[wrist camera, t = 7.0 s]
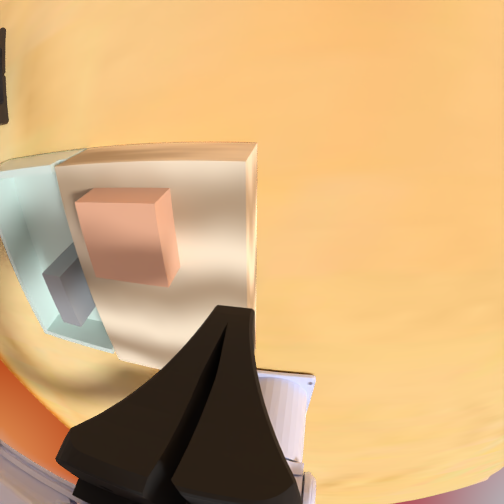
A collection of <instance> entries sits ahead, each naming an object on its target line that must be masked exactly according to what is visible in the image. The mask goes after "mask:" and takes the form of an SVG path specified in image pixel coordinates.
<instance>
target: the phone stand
mask: <svg viewBox="0 0 504 504" xmlns="http://www.w3.org/2000/svg"><path fill="white" fill-rule="evenodd" d="M5 38H6V29H5V28H1V29H0V125H3V124H6V123H7V122H8V120H9V119H8V109H7V97H6V78H5V76H4V73H5Z"/></svg>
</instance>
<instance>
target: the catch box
mask: <svg viewBox="0 0 504 504" xmlns="http://www.w3.org/2000/svg"><path fill="white" fill-rule="evenodd" d="M85 150H87V148H85V149H76V150H67V151H60V152H52V153H45V154H39V155H32V156H26V157H20V158H15V159H9V160H7V161H5V162H3V163H1V164H0V236H1V239H2V242H3V244H4V247H5V250H6V252H7V255H8V257H9V260H10V262H11V264H12V267H13V269H14V271H15V274H16V276H17V278H18V281H19V283H20V285H21V287H22V289H23V291H24V293H25V296H26V298H27V300H28V302H29V304H30V306H31V308H32V310H33V312H34V313H35V315H36V317H37V319H38V321H39V323H40V325H41V327H42V328H43V330H44V332H45V333H46V334H49V335H52V336H55V337H58V338H61V339H64V340H68V341H71V342H74V343H77V344H81V345H84V346H87V347H91V348H94V349H98V350H102V351H105V352H109V353H114V352H115V350H114V347H113V345H112V343H111V341H110V339H109V336H108V334H107V332H106V329H105V327H104V325H103V322H102V320H101V317H100V315H99V313H98V310H97V308H96V307H95V308H94V309H93V311H92V312H91V314H90V315H89V316H88V318H87V319H86V321H85V322H84V324H83V325H82V327H79V326H76V325H72V324H69V323H65V322H63V320H62V318H61V316H60V314H59V312H58V309H57V307H56V305H55V303H54V301H53V299H52V296H51V294H50V292H49V290H48V287H47V285H46V283H45V280H44V278H43V275H42V273H43V272H44V271H45V270H46V269H47V268H48V267H49V266H50V265H51V263H52V262H53V261H54V260H55V259H56V258H57V257H58V256H59V255H60V254H61V253H62V252H63V251H64V250H65V249H66V248H68V247H69V246H70V245H71V244H72V243H73V239H72V235H71V232H70V228H69V225H68V221H67V218H66V214H65V210H64V206H63V202H62V198H61V194H60V190H59V186H58V181H57V176H56V172H55V166H57V165H59V164H60V163H62V162H64V161H66V160H68V159H69V158H71V157H73V156H75V155H77V154H79V153H81V152H83V151H85Z"/></svg>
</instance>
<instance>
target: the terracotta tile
mask: <svg viewBox="0 0 504 504" xmlns="http://www.w3.org/2000/svg"><path fill="white" fill-rule="evenodd" d="M75 206H76V210H77V214H78V218H79V222H80V225H81V229H82V233H83V236H84V240H85V243H86V247H87V250H88V253H89V257H90V260H91V263H92V266H93V269H94V272H95V275H96V277H98V278H104V279H111V280H118V281H124V282H131V283H138V284H146V285H153V286H160V287H168V288H169V286H170V285H171V283H172V281H173V279H174V277H175V276H176V274H177V272H178V270H179V269H180V267H181V266H180V260H179V253H178V246H177V239H176V232H175V225H174V217H173V209H172V201H171V192H170V188H93V189H92V190H91V191H89V192H88V193H86V194H85V195H84V196H82V197H81V198H80V199H78V200H77V201H76V202H75Z"/></svg>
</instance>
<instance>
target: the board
mask: <svg viewBox="0 0 504 504" xmlns="http://www.w3.org/2000/svg"><path fill="white" fill-rule="evenodd" d="M55 172H56V176H57V181H58V186H59V190H60V194H61V198H62V202H63V206H64V210H65V214H66V218H67V221H68V225H69V228H70V232H71V235H72V239H73V242H74V245H75V248H76V252H77V255H78V258H79V261H80V264H81V267H82V270H83V273H84V276H85V278H86V281H87V284H88V287H89V289H90V292H91V295H92V297H93V300H94V303H95V305H96V308H97V310H98V313H99V315H100V317H101V320H102V322H103V325H104V327H105V329H106V332H107V334H108V336H109V339H110V341H111V343H112V345H113V347H114V350H115V352H116V354H117V356H118V358H119V360H122V361H126V362H130V363H134V364H139V365H143V366H147V367H151V368H156V369H162V368H163V367H164V366H165V365H166V364H167V363H168V362H169V361H170V360H171V359H172V358H173V357H174V356H175V355H176V354H177V353H178V352H179V351H180V350H181V349H182V348H183V346H184V345H185V344H186V343H187V342H188V341H189V340H190V338H191V337H192V336H193V335H194V334H195V333H196V331H197V330H198V329H199V328H200V326H201V325H202V324H203V323H204V321H205V320H206V319H207V317H208V316H209V315H210V313H211V312H212V311H213V309H214V308H215V307H216V306H217V305H224V306H233V307H243V308H252V309H253V310H254V311H255V348H254V354H255V349H256V257H257V143H245V142H174V143H148V144H131V145H117V146H105V147H94V148H89V149H87V150H85V151H83V152H81V153H79V154H77V155H75V156H73V157H71V158H69V159H68V160H66V161H64V162H62V163H60V164H59V165H57V166H55ZM93 188H170V192H171V201H172V209H173V217H174V225H175V232H176V239H177V246H178V253H179V260H180V266H181V267H180V269H179V270H178V272H177V274H176V276H175V277H174V279H173V281H172V283H171V285H170V286H169V288H168V287H160V286H153V285H146V284H138V283H131V282H124V281H118V280H111V279H104V278H98V277H96V275H95V272H94V269H93V266H92V263H91V260H90V257H89V253H88V250H87V247H86V243H85V240H84V236H83V233H82V229H81V225H80V222H79V218H78V214H77V210H76V206H75V202H76V201H77V200H78V199H80V198H81V197H82V196H84V195H85V194H86V193H88V192H89V191H91V190H92V189H93Z"/></svg>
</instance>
